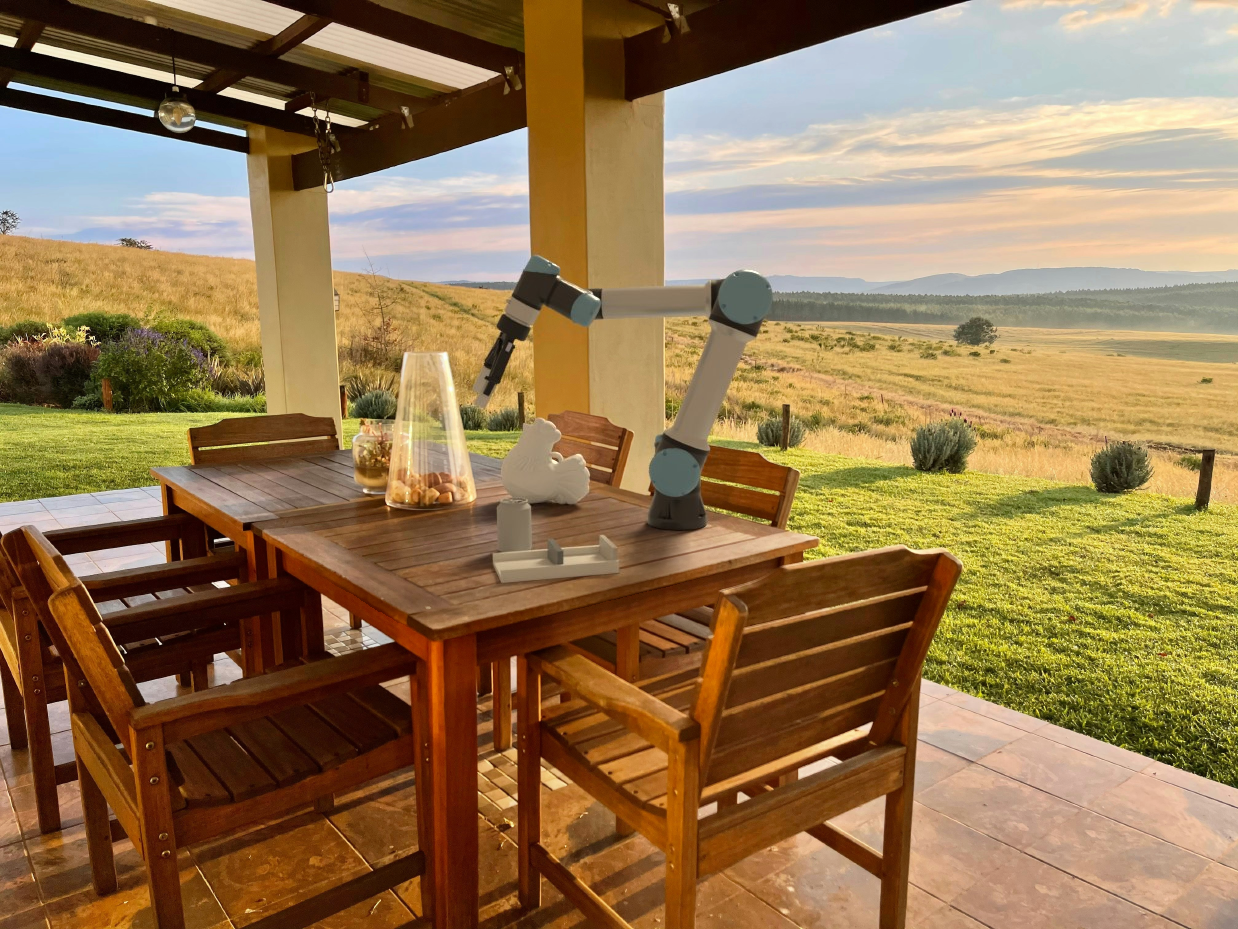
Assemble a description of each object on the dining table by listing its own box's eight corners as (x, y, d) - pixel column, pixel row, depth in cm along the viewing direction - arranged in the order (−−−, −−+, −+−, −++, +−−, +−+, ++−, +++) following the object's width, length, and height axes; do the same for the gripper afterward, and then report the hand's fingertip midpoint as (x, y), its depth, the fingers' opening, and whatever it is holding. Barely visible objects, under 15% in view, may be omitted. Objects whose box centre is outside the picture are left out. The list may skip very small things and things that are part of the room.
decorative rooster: (483, 479, 230) (514, 416, 216) (518, 461, 243) (550, 400, 228) (545, 538, 225) (581, 477, 210) (578, 517, 237) (614, 458, 223)
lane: (602, 555, 178) (602, 533, 177) (619, 572, 165) (619, 549, 164) (492, 564, 171) (492, 541, 170) (501, 582, 159) (500, 558, 158)
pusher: (553, 556, 173) (552, 538, 172) (563, 570, 163) (563, 551, 163) (547, 556, 173) (547, 538, 172) (557, 570, 163) (557, 551, 162)
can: (525, 557, 176) (524, 503, 174) (493, 555, 178) (491, 502, 176) (536, 548, 184) (535, 496, 182) (504, 546, 185) (503, 495, 183)
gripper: (499, 304, 200) (462, 380, 204) (507, 321, 177) (465, 406, 181) (526, 318, 202) (489, 392, 207) (537, 336, 179) (495, 419, 184)
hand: (477, 399), depth 194 cm, fingers open, 13 cm apart
